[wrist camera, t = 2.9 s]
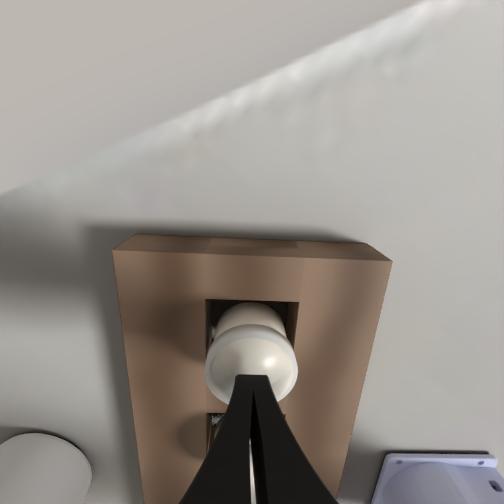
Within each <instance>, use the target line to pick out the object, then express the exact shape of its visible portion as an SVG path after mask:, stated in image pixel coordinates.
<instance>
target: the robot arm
mask: <svg viewBox="0 0 504 504" xmlns="http://www.w3.org/2000/svg"><path fill="white" fill-rule="evenodd" d="M250 442H251V453H252V464H253V475H254V486H255V497H256V504H338V502H337V501H336V500H335V498H334V497H333V496H332V494H331V493H330V492H329V490H328V489H327V488H326V486H325V485H324V483H323V482H322V480H321V479H320V477H319V476H318V474H317V473H316V472H315V470H314V469H313V467H312V465H311V464H310V462H309V461H308V459H307V457H306V456H305V454H304V453H303V451H302V449H301V447H300V446H299V444H298V442H297V440H296V439H295V437H294V435H293V433H292V431H291V429H290V427H289V425H288V423H287V421H286V419H285V417H284V415H283V413H282V411H281V409H280V407H279V404H278V402H277V400H276V397H275V395H274V392H273V389H272V387H271V384H270V380H269V377H268V376H267V375H250V374H238V375H236V376H235V383H234V388H233V392H232V395H231V398H230V402H229V404H228V407H227V410H226V413H225V415H224V418H223V421H222V423H221V425H220V428H219V430H218V432H217V434H216V437H215V439H214V441H213V443H212V445H211V447H210V449H209V451H208V453H207V455H206V457H205V459H204V461H203V463H202V465H201V467H200V469H199V470H198V472H197V474H196V476H195V477H194V479H193V481H192V483H191V484H190V486H189V488H188V490H187V491H186V493H185V495H184V496H183V498H182V499H181V501H180V502H179V504H251V479H250ZM497 463H498V460H497V459H496V458H495V456H493V455H486V454H398V453H391V454H388V455H386V457H385V460H384V463H383V466H382V470H381V473H380V476H379V479H378V483H377V486H376V489H375V492H374V496H373V499H372V502H371V504H504V478H503V477H502V476H501V474H500V473H499V472H498V471H497V470H496V468H495V467H496V465H497Z"/></svg>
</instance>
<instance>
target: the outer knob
mask: <svg viewBox="0 0 504 504" xmlns="http://www.w3.org/2000/svg"><path fill="white" fill-rule="evenodd" d="M204 374H205V380H206V383H207V386H208V388H209V389H210V391H211V392H212V393H213V394H214V395H215V396H216V397H217V398H218V399H219V400H221V401H222V402H224V403H226V404H229V402H230V398H231V395H232V392H233V388H234V383H235V376H236V375H238V374H250V375H267V376H268V377H269V380H270V384H271V387H272V389H273V392H274V395H275V397H276V400H277V402H278V401H280V400H281V399H283V398H284V397H285V396H286V395H287V394H288V393H289V392H290V391H291V390H292V388H293V386H294V385H295V382H296V380H297V375H298V367H297V362H296V358H295V354H294V350H293V348H292V345H291V344H290V342H289V341H288V339H287V337H286V333H285V329H284V324H283V321H282V319H281V317H280V316H279V315H278V313H277V312H276V311H275V310H273V309H272V308H270V307H269V306H267V305H264V304H261V303H257V302H244V303H240V304H237V305H234V306H232V307H230V308H229V309H227V310H226V311H225V312H224V313H223V314H222V315H221V317H220V318H219V320H218V323H217V326H216V331H215V337H214V341H213V342H212V344H211V346H210V348H209V350H208V354H207V358H206V364H205V370H204Z"/></svg>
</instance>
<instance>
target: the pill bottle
mask: <svg viewBox="0 0 504 504" xmlns="http://www.w3.org/2000/svg"><path fill="white" fill-rule="evenodd" d="M91 479H92V470H91V466H90V464H89V462H88V460H87V458H86V457H85V456H84V454H83V453H82V452H81V451H80V450H79V449H77V448H76V447H75V446H73V445H72V444H70V443H69V442H67V441H65V440H63V439H60V438H58V437H55V436H51V435H47V434H40V433H27V434H21V435H17V436H15V437H12V438H10V439H8V440H7V441H5V442H4V443H2V444H1V445H0V504H82V503H83V501H84V499H85V497H86V494H87V492H88V489H89V487H90V484H91Z"/></svg>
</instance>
